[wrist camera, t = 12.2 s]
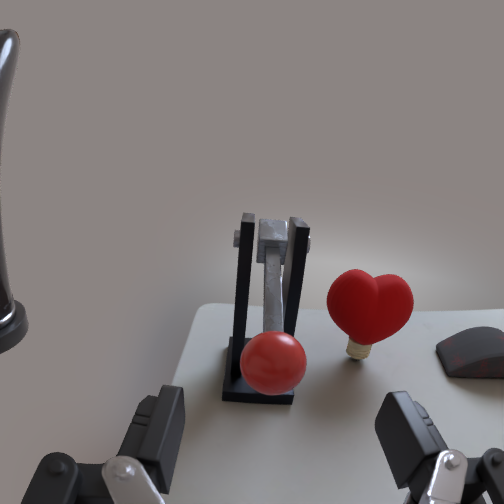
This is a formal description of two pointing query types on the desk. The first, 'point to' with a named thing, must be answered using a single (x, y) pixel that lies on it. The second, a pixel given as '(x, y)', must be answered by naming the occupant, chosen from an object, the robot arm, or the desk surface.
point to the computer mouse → (473, 353)
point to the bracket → (291, 292)
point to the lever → (272, 323)
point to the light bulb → (368, 308)
